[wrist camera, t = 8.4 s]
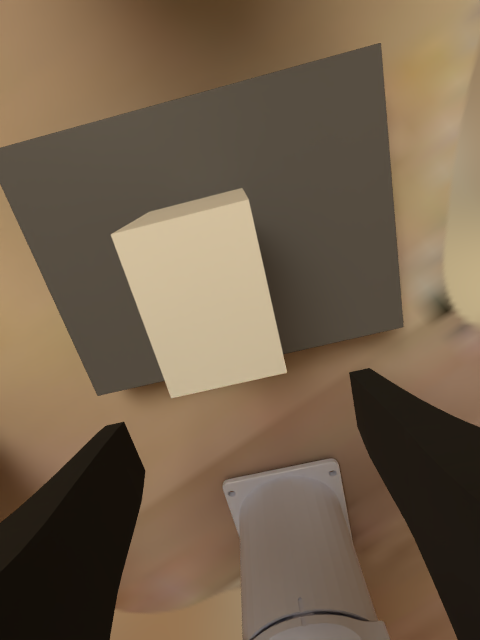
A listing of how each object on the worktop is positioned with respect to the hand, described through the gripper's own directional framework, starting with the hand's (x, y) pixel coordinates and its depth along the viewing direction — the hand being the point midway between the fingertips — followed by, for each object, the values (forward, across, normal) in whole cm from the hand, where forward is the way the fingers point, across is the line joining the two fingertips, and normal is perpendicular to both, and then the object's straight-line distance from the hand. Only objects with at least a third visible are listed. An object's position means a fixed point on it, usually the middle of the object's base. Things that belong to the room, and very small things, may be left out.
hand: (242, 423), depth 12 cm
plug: (+8, 0, -4) cm, 9 cm away
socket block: (+10, 0, -4) cm, 11 cm away
